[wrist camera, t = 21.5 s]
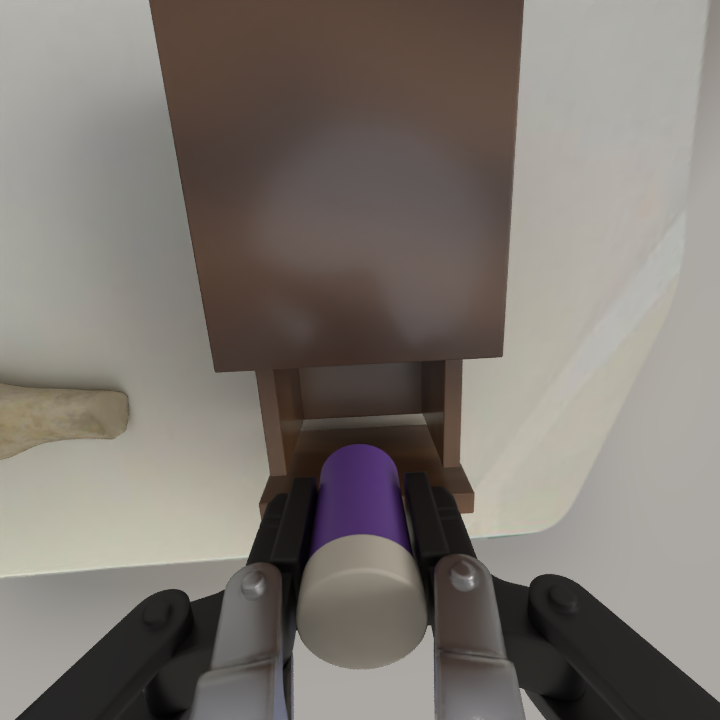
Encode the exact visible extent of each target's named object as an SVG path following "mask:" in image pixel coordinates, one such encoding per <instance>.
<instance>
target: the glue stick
mask: <svg viewBox="0 0 720 720" xmlns="http://www.w3.org/2000/svg"><path fill="white" fill-rule="evenodd" d="M428 619H429V613H428V606H427V601H426V596H425V591H424V586H423V582H422V578H421V573H420V569H419V567H418V564H417V562H416V561H415V559H414V556H413V551H412V546H411V541H410V535H409V530H408V525H407V520H406V514H405V509H404V504H403V499H402V494H401V488H400V483H399V478H398V473H397V469H396V466H395V464H394V462H393V460H392V459H391V458H390V457H389V456H388V455H387V454H386V453H385V452H384V451H382V450H380V449H379V448H377V447H374V446H371V445H366V444H353V445H348V446H345V447H342V448H340V449H338V450H337V451H335V452H334V453H333V454H332V455H330V456H329V458H328V459H327V460H326V461H325V463H324V465H323V467H322V470H321V476H320V483H319V489H318V496H317V503H316V510H315V517H314V524H313V531H312V538H311V545H310V552H309V558H308V562H307V564H306V566H305V568H304V570H303V574H302V578H301V585H300V591H299V597H298V604H297V610H296V625H297V630H298V633H299V635H300V637H301V640H302V641H303V643H304V644H305V646H306V647H307V648H308V649H309V650H310V651H311V652H312V653H313V654H314V655H316V656H317V657H319V658H320V659H322V660H324V661H326V662H328V663H330V664H333V665H336V666H339V667H344V668H349V669H373V668H379V667H383V666H386V665H389V664H392V663H394V662H397V661H399V660H400V659H402V658H404V657H405V656H406V655H408V654H409V653H411V652H412V651H413V650H414V649H415V648H416V647H417V646H418V644H419V643H420V642H421V640H422V639H423V637H424V635H425V632H426V629H427V625H428Z"/></svg>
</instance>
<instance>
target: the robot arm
mask: <svg viewBox="0 0 720 720" xmlns="http://www.w3.org/2000/svg"><path fill="white" fill-rule="evenodd" d="M317 496H318V491H317V481H316V477H315V476H309V477H293V479H292V483H291V486H290V490H289V493H279V494H276V496H275V497H274V498H273V499H272V500H271V501H270V502H269V503H268V504H267V507H266V510H265V512H264V515H263V519H262V521H261V524H260V529H258V532H257V535H256V538H255V541H254V543H253V546H252V549H251V552H250V555H249V558H248V560H247V563H246V566H245V567H243V568H242V569H240V570H239V571H237V572H236V573H235V574H234V575H233V576H232V577H231V578H230V580H229V581H228V583H227V585H226V588H225V590H223V591H221V592H219V593H216V594H214V595H211V596H208V597H205V598H201V599H198V600H195V601H192V602H190V600H189V597H188V595H187V594H186V593H185V592H183V591H181V590H177V589H169V590H163V591H160V592H157V593H155V594H153V595H151V596H149V597H148V598H146V599H145V600H143V601H142V602H141V603H140V604H138V605H137V606H136V607H135V608H134V609H133V610H132V611H131V612H130V613H129V614H128V615H127V616H125V618H123V620H121V621H120V622H119V623H118V624H117V625H116V626H115V627H114V628H113V629H112V630H110V631H109V632H108V634H106V635H105V636H104V637H103V638H102V639H101V640H100V641H99V642H98V643H97V644H96V645H94V646H93V647H92V648H91V649H90V650H89V651H88V652H87V653H86V654H85V655H84V656H83V657H82V658H81V659H79V660H78V661H77V662H76V663H75V664H74V665H73V666H72V667H71V668H70V669H69V670H68V671H67V672H66V673H64V674H63V675H62V676H61V677H60V678H59V679H58V680H57V681H56V682H55V683H54V684H53V685H52V686H51V687H49V688H48V689H47V690H46V691H45V692H44V693H43V694H42V695H41V696H40V697H39V698H38V699H37V700H36V701H34V702H33V703H32V704H31V705H30V706H29V707H28V708H27V709H26V710H25V711H24V712H23V713H22V714H21V715H19V716H18V717H17V718H16V719H15V720H294V709H293V706H294V701H293V700H294V696H293V652H292V650H293V646H294V640H295V633H296V630H297V625H296V610H297V604H298V597H299V591H300V585H301V578H302V574H303V570H304V568H305V566H306V564H307V562H308V558H309V552H310V545H311V538H312V531H313V524H314V517H315V510H316V503H317ZM404 506H405V514H406V520H407V525H408V530H409V535H410V541H411V546H412V551H413V556H414V559H415V561H416V562H417V564H418V567H419V569H420V573H421V578H422V582H423V586H424V591H425V596H426V601H427V606H428V613H429V619H428V625H431V626H432V631H433V637H434V694H435V695H434V698H435V700H434V701H435V720H526V719H525V714H524V709H523V704H522V699H521V694H520V689H519V688H522V689H524V690H525V692H526V694H527V695H528V696H529V698H530V699H531V701H532V702H533V703H534V705H535V706H536V707H537V708H538V710H539V711H540V712H541V714H542V715H543V716H544V718H545V719H546V720H720V702H718V701H717V700H716V699H715V698H714V697H712V696H711V695H710V694H709V693H708V692H706V691H705V690H704V689H703V688H702V687H701V686H699V685H698V684H697V683H696V682H695V681H693V680H692V679H691V678H690V677H689V676H688V675H686V674H685V673H684V672H683V671H681V670H680V669H679V668H678V667H677V666H675V665H674V664H673V663H672V662H671V661H670V660H669V659H667V658H666V657H665V656H664V655H663V654H661V653H660V652H659V651H658V650H657V649H655V648H654V647H653V646H652V645H651V644H650V643H648V642H647V641H646V640H645V639H643V638H642V637H641V636H640V635H639V634H638V633H636V632H635V631H634V630H633V629H632V628H630V627H629V626H628V625H627V624H626V623H625V622H623V621H622V620H621V619H620V618H619V617H617V616H616V615H615V614H614V613H613V612H612V611H610V610H609V609H608V608H607V607H606V606H604V605H603V604H602V603H601V602H599V601H598V600H597V599H596V598H595V597H594V596H592V595H591V594H590V593H589V592H588V591H587V590H585V589H584V588H583V587H581V586H580V585H579V584H578V583H576V582H574V581H573V580H570V579H568V578H566V577H563V576H559V575H554V574H545V575H540V576H538V577H536V578H535V579H534V580H533V581H532V582H531V584H530V587H527V586H522V585H518V584H514V583H510V582H506V581H503V580H501V579H498V578H497V577H495V576H493V575H492V574H490V572H489V570H488V569H487V567H486V566H485V565H484V564H483V563H482V562H480V561H479V560H478V559H477V557H476V554H475V552H474V549H473V546H472V544H471V541H470V538H469V536H468V533H467V530H466V528H465V525H464V522H463V520H462V517H461V514H460V512H459V510H458V506H457V504H456V501H455V498H454V496H453V495H452V494H451V493H450V492H449V491H448V490H447V489H446V488H445V487H444V486H433V487H431V486H430V482H429V479H428V476H427V472H426V471H419V472H404Z"/></svg>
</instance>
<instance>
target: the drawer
mask: <svg viewBox="0 0 720 720" xmlns="http://www.w3.org/2000/svg"><path fill="white" fill-rule="evenodd" d="M462 363H463V359H459V360H440V361H422V362H403V363H385V364H366V365H347V366H329V367H310V368H292V369H273V370H255V371H256V378H257V385H258V392H259V399H260V406H261V413H262V420H263V427H264V434H265V441H266V448H267V455H268V462H269V469H270V476H269V479H268V481H267V484H266V487H265V489H264V492H263V494H262V497H261V500H260V502H259V508H260V514H261V520H262V519H263V515H264V512H265V510H266V507H267V504H268V503H269V502H270V501H271V500H272V499H273V498H274V497H275V496H276V494H279V493H289V490H290V486H291V483H292V479H293V477H309V476H315V477H316V481H317V491H318V489H319V483H320V476H321V470H322V467H323V465H324V463H325V461H326V460H327V459H328V458H329V456H330V455H332V454H333V453H334V452H335V451H337V450H338V449H340V448H342V447H345V446H348V445H353V444H366V445H371V446H374V447H377V448H379V449H380V450H382V451H384V452H385V453H386V454H387V455H388V456H389V457H390V458H391V459H392V460H393V462H394V464H395V466H396V469H397V473H398V478H399V483H400V488H401V494H402V499H403V504H404V472H419V471H426V472H427V476H428V479H429V482H430V486H431V487H433V486H444V487H445V488H446V489H447V490H448V491H449V492H450V493H451V494H452V495H453V496H454V498H455V501H456V504H457V506H458V510H459V512H460V514H461V513H473V512H474V491H473V489H472V487H471V485H470V483H469V481H468V478H467V476H466V474H465V472H464V470H463V468H462V466H461V464H460V436H461V399H462ZM419 413H422V414H423V416H424V419H425V422H426V424H427V425H411V426H391V427H372V428H353V429H334V430H315V431H300V430H301V427H302V424H303V420H305V419H324V418H343V417H362V416H381V415H400V414H419ZM404 509H405V506H404Z"/></svg>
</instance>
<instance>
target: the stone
mask: <svg viewBox="0 0 720 720" xmlns="http://www.w3.org/2000/svg"><path fill="white" fill-rule="evenodd" d="M127 398H128V397H127V396H126V395H125V394H124V393H122V392H116V391H106V390H95V391H91V390H76V389H43V388H28V387H21V386H14V385H8V384H3V383H0V460H2V459H5V458H9V457H12V456H14V455H16V454H18V453H21V452H23V451H25V450H27V449H29V448H32V447H34V446H36V445H39V444H42V443H46V442H52V441H59V440H68V439H114V438H116V437H117V436H118V435H120V434H121V433H123V432H125V430H126V425H127V422H128V416H129V413H128V409H127V408H128V401H127Z"/></svg>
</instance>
